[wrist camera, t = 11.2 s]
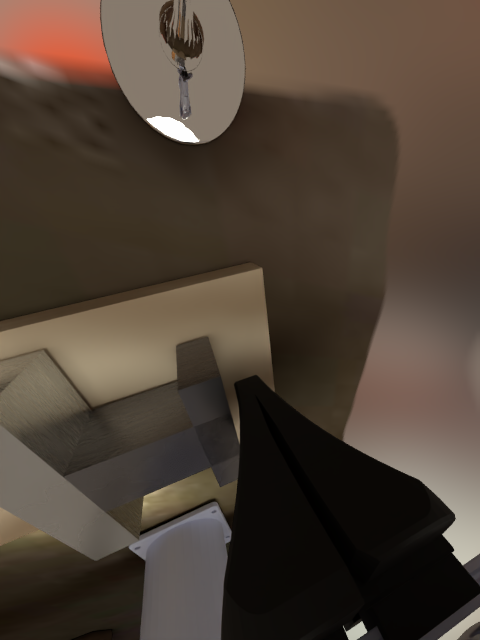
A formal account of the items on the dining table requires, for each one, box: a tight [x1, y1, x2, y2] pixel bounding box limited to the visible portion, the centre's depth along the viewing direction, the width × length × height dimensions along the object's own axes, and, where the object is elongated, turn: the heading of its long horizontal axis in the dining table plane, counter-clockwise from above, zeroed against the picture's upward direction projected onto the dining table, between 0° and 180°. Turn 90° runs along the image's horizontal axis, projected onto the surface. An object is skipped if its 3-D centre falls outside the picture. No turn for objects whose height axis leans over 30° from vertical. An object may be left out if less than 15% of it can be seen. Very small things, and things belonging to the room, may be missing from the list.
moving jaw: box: [0, 337, 240, 561], centre depth 9 cm, size 10×8×3 cm
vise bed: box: [0, 262, 275, 546], centre depth 10 cm, size 12×23×2 cm, turn 100°
